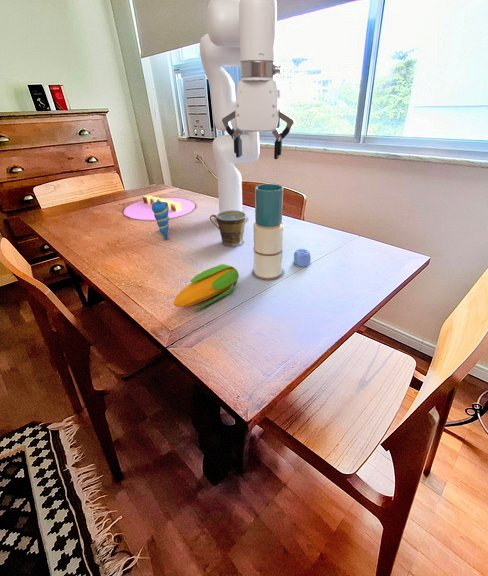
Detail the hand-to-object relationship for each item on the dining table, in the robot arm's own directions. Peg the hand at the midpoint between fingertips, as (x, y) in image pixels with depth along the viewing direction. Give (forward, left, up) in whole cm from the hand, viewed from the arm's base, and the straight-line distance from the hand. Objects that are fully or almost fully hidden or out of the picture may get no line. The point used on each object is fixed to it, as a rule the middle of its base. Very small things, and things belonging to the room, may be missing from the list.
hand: (257, 157), depth 74 cm
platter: (-43, -57, -31) cm, 78 cm away
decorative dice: (-4, +13, -31) cm, 34 cm away
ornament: (-11, -37, -31) cm, 50 cm away
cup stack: (+4, +4, -31) cm, 31 cm away
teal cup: (+4, +4, -15) cm, 16 cm away
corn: (+20, -8, -31) cm, 38 cm away
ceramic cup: (-14, -14, -31) cm, 37 cm away
